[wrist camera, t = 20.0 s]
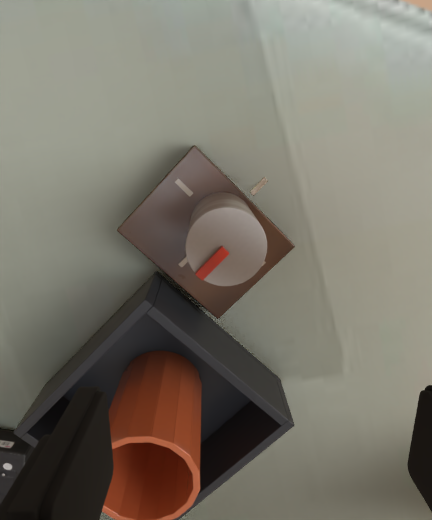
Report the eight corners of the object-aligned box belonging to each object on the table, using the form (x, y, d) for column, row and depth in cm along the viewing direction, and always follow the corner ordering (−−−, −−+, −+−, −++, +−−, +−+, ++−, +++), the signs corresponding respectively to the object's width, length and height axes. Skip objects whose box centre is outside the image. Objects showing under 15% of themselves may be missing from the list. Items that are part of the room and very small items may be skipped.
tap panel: (306, 223, 28) (314, 229, 26) (217, 308, 30) (217, 320, 28) (212, 125, 26) (213, 124, 24) (122, 224, 28) (115, 230, 26)
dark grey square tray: (280, 379, 32) (295, 425, 27) (169, 474, 35) (162, 533, 30) (156, 271, 29) (145, 299, 24) (44, 385, 32) (12, 433, 27)
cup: (218, 384, 32) (223, 480, 23) (164, 433, 33) (148, 542, 24) (158, 334, 30) (136, 416, 21) (103, 387, 31) (61, 485, 22)
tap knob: (220, 178, 25) (225, 190, 19) (265, 222, 26) (285, 248, 20) (177, 224, 26) (167, 251, 20) (222, 265, 27) (227, 303, 20)
